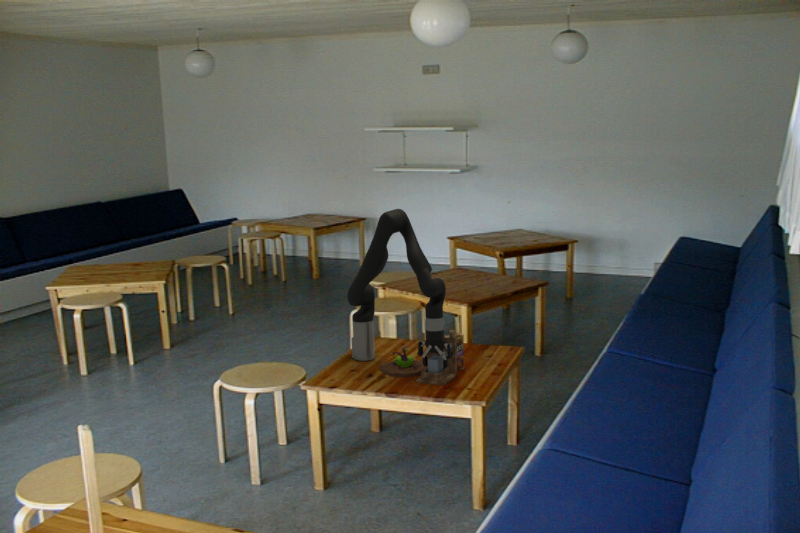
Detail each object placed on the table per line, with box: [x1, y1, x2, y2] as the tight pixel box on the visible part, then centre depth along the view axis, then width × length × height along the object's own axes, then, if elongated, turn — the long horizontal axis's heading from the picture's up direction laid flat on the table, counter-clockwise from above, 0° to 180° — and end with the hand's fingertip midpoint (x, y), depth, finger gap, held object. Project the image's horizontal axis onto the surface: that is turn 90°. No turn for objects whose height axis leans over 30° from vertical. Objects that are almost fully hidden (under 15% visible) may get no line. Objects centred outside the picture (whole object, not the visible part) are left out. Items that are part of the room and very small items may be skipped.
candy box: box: [445, 332, 465, 372], centre depth 314 cm, size 9×4×15 cm, turn 123°
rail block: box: [427, 356, 444, 374], centre depth 303 cm, size 4×7×8 cm, turn 154°
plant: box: [379, 346, 428, 378], centre depth 316 cm, size 20×20×11 cm
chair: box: [415, 329, 458, 386], centre depth 303 cm, size 12×14×19 cm
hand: (435, 367), depth 303 cm, fingers open, 8 cm apart
